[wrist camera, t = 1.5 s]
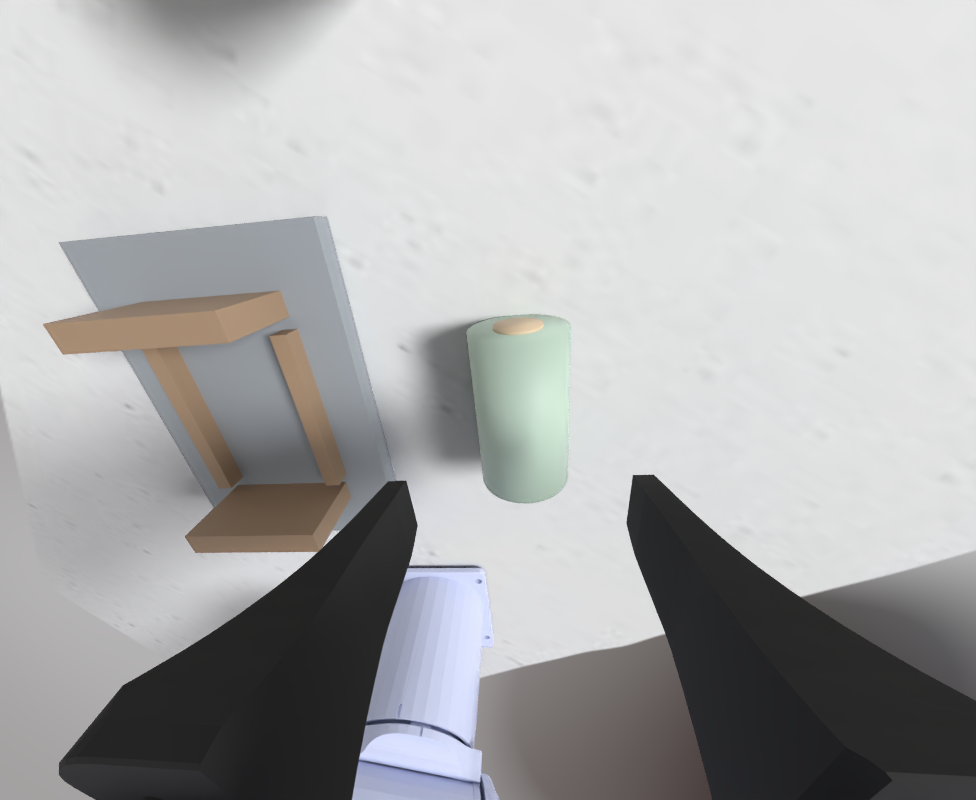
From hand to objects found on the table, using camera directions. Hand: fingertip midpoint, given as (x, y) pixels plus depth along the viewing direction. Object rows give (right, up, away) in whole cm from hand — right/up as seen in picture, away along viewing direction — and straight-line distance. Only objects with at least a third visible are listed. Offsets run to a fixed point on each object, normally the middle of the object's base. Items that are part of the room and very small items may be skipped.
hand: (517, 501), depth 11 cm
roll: (+1, +4, +8) cm, 9 cm away
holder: (-13, +3, +9) cm, 16 cm away
